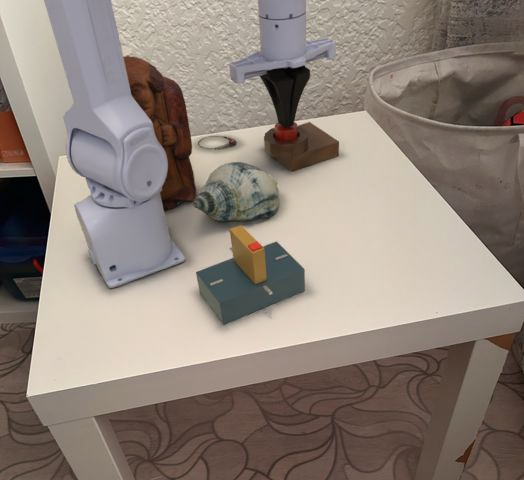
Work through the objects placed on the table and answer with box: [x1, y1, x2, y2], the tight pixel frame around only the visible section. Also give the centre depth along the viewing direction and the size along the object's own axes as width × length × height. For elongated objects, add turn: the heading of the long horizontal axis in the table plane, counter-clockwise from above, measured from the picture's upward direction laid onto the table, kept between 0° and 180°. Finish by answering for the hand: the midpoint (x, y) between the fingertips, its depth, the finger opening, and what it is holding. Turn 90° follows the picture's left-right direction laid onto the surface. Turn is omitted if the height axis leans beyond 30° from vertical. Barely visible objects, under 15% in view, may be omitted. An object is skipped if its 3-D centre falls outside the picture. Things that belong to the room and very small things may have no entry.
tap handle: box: [229, 225, 267, 285], centre depth 56 cm, size 5×1×4 cm, turn 29°
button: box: [273, 121, 298, 141], centre depth 77 cm, size 3×3×2 cm
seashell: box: [192, 161, 280, 223], centre depth 69 cm, size 6×8×12 cm
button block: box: [263, 121, 340, 172], centre depth 80 cm, size 10×8×4 cm
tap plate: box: [195, 241, 306, 325], centre depth 59 cm, size 10×9×3 cm
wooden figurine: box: [123, 56, 197, 211], centre depth 68 cm, size 12×6×18 cm, turn 108°
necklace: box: [197, 135, 238, 150], centre depth 85 cm, size 4×6×1 cm, turn 74°
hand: (285, 123), depth 76 cm, fingers closed
